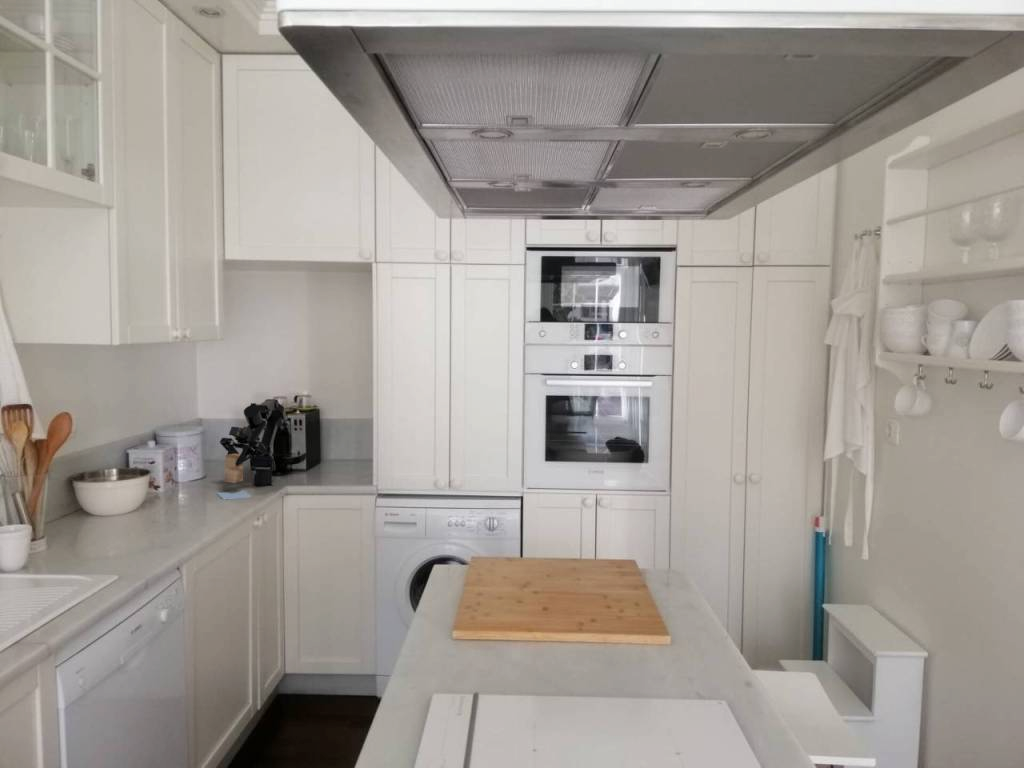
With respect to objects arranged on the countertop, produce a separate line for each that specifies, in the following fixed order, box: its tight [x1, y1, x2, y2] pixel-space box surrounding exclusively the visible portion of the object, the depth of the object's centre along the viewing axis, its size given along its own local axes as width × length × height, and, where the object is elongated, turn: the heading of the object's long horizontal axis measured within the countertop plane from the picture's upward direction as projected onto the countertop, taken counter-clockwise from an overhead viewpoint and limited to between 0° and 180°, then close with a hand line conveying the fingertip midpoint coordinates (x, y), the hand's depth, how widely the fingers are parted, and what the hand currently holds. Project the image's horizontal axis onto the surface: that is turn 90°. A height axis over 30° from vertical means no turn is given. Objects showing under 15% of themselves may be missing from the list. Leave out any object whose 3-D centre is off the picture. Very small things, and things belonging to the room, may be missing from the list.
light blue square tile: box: [216, 490, 252, 501], centre depth 270 cm, size 10×10×1 cm
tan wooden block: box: [224, 453, 244, 484], centre depth 269 cm, size 4×4×10 cm
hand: (231, 464), depth 268 cm, fingers closed on tan wooden block, 4 cm apart
